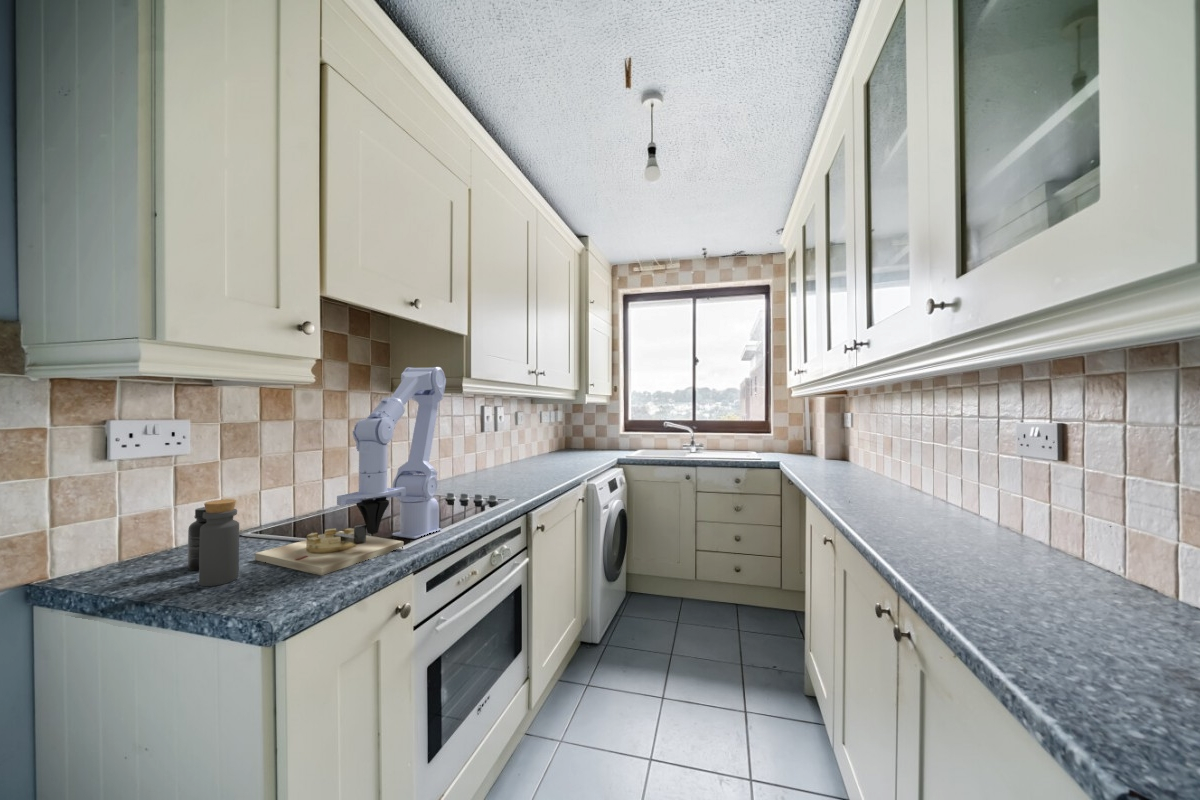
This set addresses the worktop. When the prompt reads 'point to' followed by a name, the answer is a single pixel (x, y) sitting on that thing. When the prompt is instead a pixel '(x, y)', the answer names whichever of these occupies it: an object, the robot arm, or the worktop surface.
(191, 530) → the supplement bottle
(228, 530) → the bottle
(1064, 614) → the worktop surface
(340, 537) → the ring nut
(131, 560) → the worktop surface
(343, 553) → the base board
